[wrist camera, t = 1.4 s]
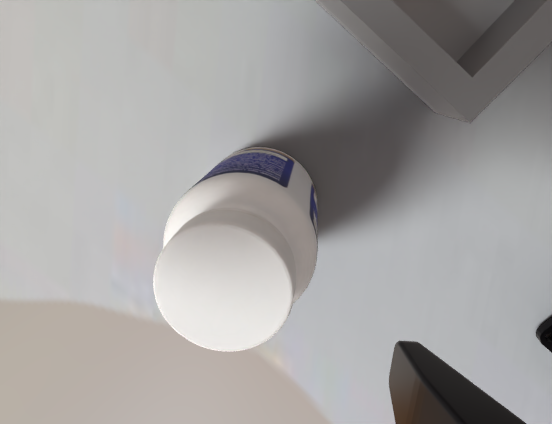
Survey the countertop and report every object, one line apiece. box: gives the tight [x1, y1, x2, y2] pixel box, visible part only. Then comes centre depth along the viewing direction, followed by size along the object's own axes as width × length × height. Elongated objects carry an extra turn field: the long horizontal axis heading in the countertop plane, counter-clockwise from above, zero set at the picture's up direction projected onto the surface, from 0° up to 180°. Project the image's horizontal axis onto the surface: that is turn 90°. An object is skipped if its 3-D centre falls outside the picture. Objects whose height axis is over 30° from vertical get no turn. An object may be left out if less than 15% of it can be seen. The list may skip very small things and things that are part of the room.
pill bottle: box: [153, 147, 318, 352], centre depth 16 cm, size 5×5×9 cm
